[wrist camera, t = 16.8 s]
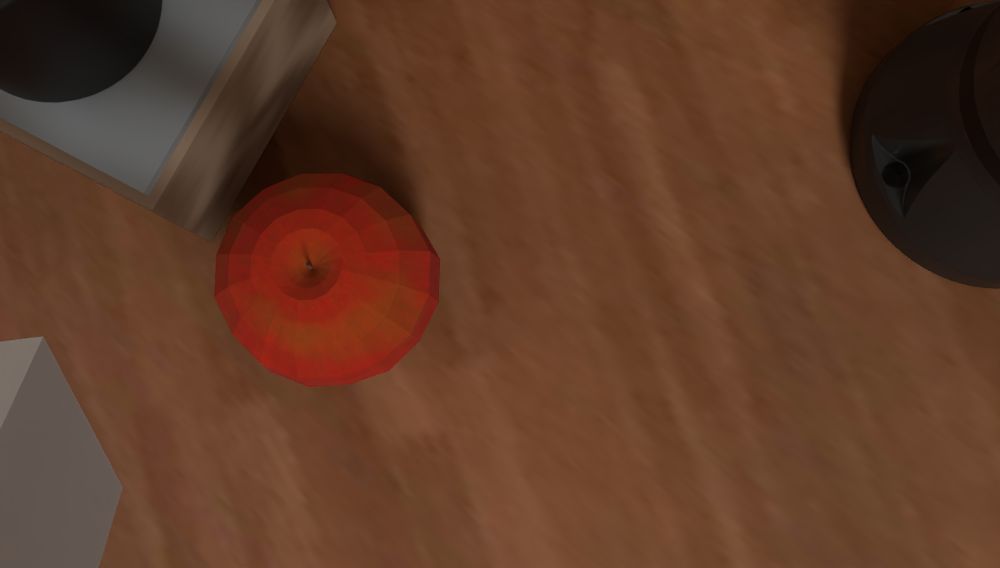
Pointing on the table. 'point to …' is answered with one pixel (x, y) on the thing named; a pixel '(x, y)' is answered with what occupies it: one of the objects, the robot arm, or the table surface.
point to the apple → (326, 279)
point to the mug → (72, 45)
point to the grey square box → (185, 107)
